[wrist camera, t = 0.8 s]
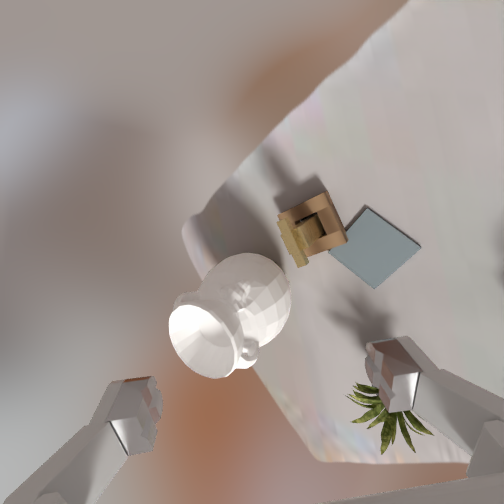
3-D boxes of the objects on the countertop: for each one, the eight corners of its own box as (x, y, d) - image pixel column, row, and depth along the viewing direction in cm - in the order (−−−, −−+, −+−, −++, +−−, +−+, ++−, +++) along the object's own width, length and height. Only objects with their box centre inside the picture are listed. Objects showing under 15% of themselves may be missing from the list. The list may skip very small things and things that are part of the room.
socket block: (327, 190, 49) (323, 192, 46) (349, 238, 50) (346, 243, 47) (282, 212, 55) (277, 215, 52) (303, 255, 55) (298, 260, 53)
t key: (314, 202, 51) (290, 215, 40) (331, 239, 51) (312, 262, 40) (298, 210, 53) (271, 224, 42) (314, 246, 53) (292, 269, 42)
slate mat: (367, 207, 47) (367, 208, 46) (421, 246, 45) (421, 247, 44) (328, 251, 52) (328, 252, 52) (374, 288, 50) (374, 289, 50)
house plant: (404, 319, 50) (406, 381, 36) (458, 377, 48) (481, 464, 35) (345, 349, 57) (328, 408, 44) (390, 400, 56) (387, 477, 42)
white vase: (320, 276, 55) (271, 349, 34) (279, 329, 64) (222, 412, 44) (250, 227, 59) (170, 264, 39) (222, 283, 69) (145, 339, 48)
